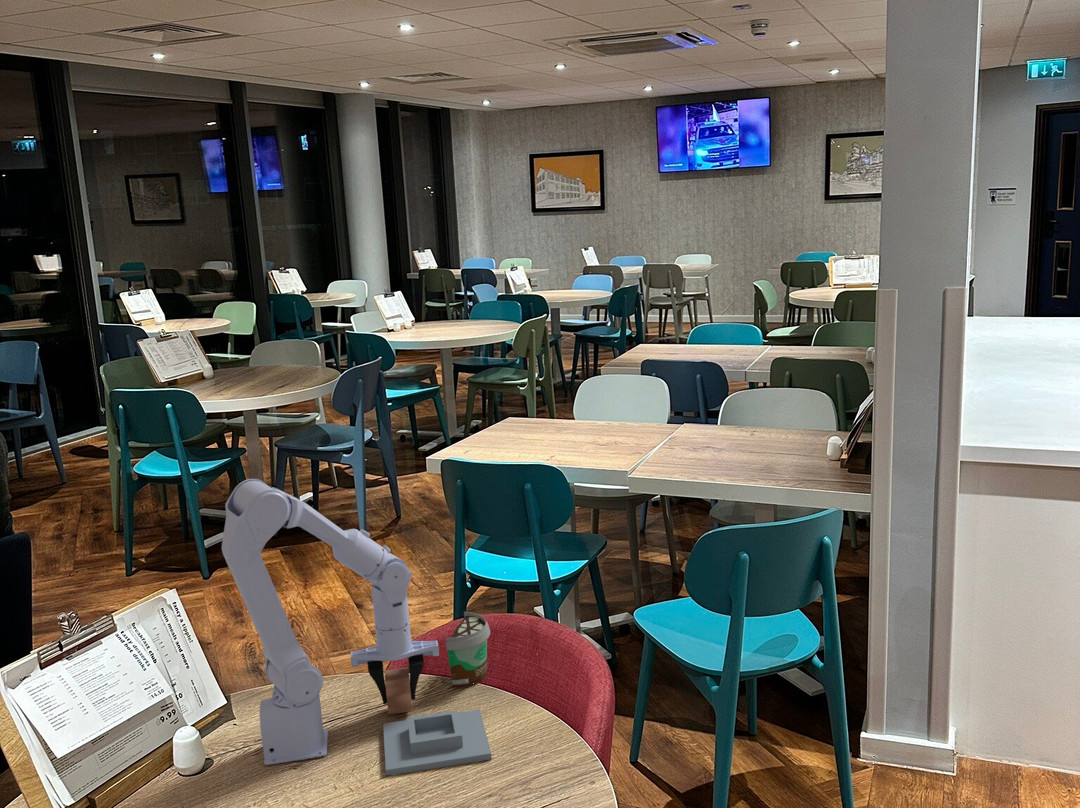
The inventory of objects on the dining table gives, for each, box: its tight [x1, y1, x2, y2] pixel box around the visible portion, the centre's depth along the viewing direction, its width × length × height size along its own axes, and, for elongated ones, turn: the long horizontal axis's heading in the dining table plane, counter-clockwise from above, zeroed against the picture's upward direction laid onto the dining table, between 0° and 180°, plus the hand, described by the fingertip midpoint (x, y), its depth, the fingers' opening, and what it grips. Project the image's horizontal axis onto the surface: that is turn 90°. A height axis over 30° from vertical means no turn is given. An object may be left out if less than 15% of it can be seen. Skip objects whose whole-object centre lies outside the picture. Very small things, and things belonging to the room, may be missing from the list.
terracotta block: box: [384, 666, 413, 715], centre depth 161 cm, size 4×4×6 cm
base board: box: [382, 709, 493, 776], centre depth 151 cm, size 16×14×3 cm
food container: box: [445, 611, 491, 689], centre depth 172 cm, size 12×6×10 cm, turn 168°
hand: (399, 699), depth 162 cm, fingers closed on terracotta block, 4 cm apart
